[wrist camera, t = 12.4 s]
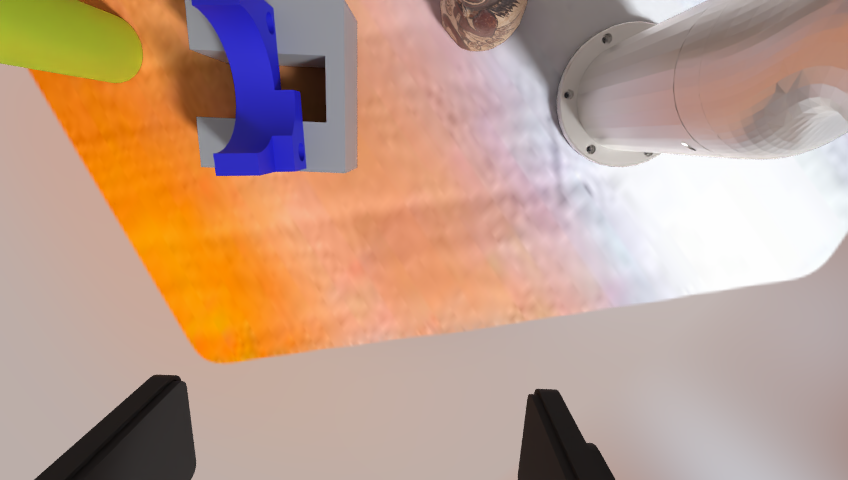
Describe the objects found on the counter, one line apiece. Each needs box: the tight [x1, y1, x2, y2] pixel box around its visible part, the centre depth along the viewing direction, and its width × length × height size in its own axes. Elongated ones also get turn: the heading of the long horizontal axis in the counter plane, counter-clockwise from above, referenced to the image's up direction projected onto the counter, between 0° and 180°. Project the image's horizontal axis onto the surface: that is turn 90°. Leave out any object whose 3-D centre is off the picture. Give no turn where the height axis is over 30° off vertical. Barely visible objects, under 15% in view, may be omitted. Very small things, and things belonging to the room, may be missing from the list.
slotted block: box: [185, 0, 357, 173], centre depth 34 cm, size 12×13×6 cm
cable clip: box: [191, 0, 307, 176], centre depth 29 cm, size 12×4×6 cm, turn 0°
